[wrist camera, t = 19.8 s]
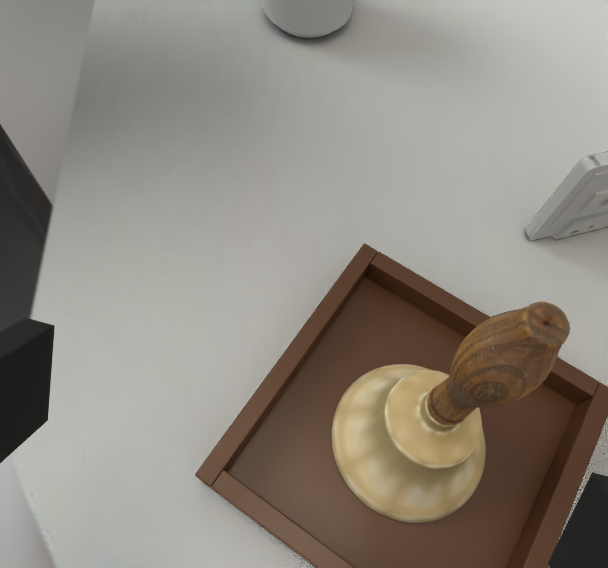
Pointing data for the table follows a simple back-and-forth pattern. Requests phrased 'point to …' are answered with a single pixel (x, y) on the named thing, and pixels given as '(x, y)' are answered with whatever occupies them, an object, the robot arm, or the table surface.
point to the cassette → (575, 202)
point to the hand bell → (439, 416)
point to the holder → (318, 437)
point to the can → (308, 15)
